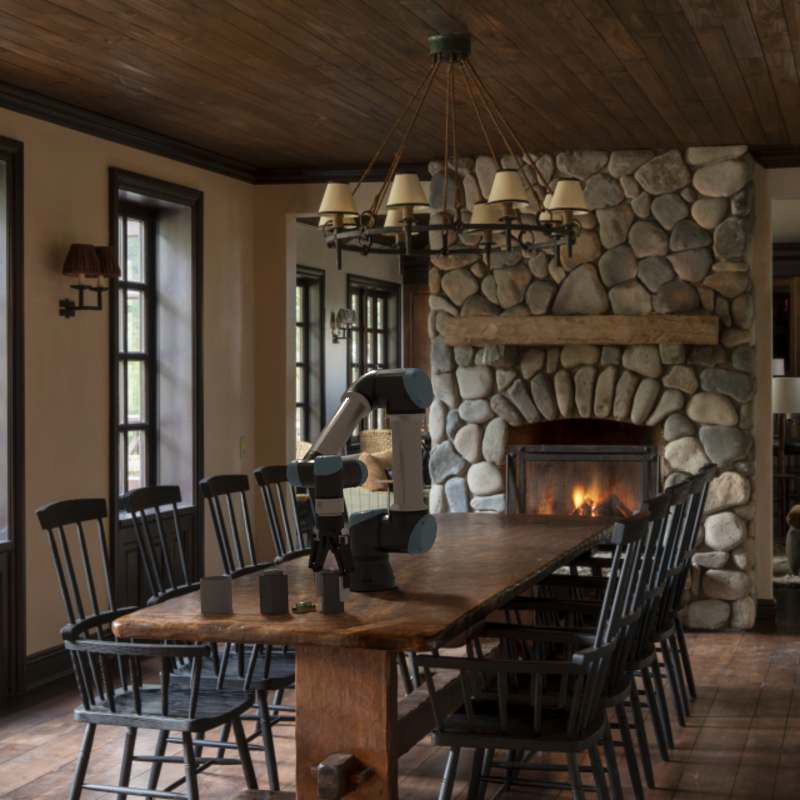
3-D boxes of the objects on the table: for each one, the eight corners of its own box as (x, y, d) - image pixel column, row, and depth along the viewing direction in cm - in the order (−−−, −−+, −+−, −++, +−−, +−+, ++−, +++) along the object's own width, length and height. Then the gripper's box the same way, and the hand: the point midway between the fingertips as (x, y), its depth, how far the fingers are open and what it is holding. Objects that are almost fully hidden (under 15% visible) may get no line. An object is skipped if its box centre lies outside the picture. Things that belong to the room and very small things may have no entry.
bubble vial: (310, 609, 348) (310, 600, 348) (315, 610, 346) (315, 601, 346) (292, 613, 344) (291, 603, 344) (297, 614, 342) (297, 604, 342)
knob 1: (276, 609, 349) (275, 567, 348) (288, 612, 345) (287, 569, 344) (260, 612, 345) (258, 569, 345) (272, 614, 341) (270, 571, 341)
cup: (234, 611, 354) (232, 575, 354) (231, 617, 346) (230, 580, 345) (203, 613, 354) (201, 576, 353) (199, 618, 345) (198, 581, 345)
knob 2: (321, 610, 346) (320, 567, 346) (341, 608, 347) (340, 566, 347) (323, 613, 341) (322, 570, 340) (344, 612, 342) (342, 569, 341)
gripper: (293, 512, 349) (295, 595, 350) (344, 518, 332) (347, 605, 333) (315, 510, 354) (318, 591, 355) (367, 515, 337) (370, 601, 338)
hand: (332, 598), depth 344 cm, fingers open, 10 cm apart
